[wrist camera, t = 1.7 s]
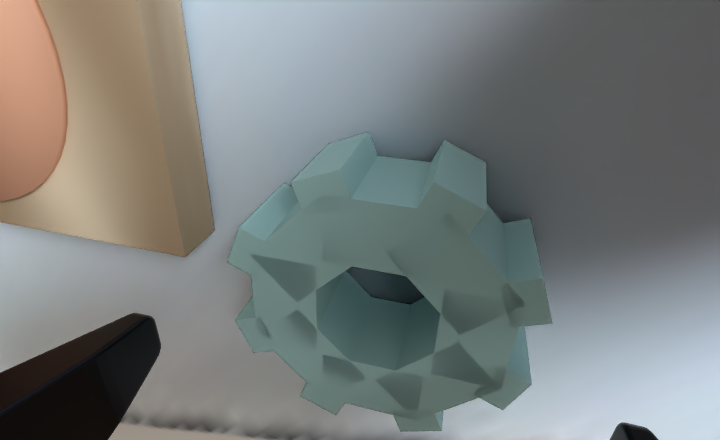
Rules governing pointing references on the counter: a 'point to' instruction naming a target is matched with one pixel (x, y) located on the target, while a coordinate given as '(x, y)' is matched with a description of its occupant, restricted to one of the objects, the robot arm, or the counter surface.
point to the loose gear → (396, 256)
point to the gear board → (101, 123)
